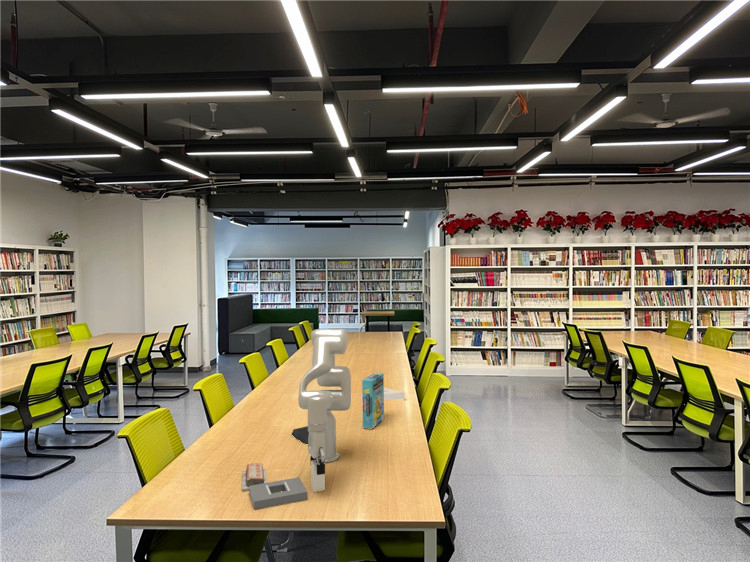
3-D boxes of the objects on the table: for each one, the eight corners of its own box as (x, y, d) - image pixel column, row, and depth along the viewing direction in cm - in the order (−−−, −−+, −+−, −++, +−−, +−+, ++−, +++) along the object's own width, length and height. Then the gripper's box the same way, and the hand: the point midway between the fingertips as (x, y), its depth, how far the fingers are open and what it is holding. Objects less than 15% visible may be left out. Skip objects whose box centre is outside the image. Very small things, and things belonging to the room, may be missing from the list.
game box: (373, 430, 261) (372, 380, 261) (362, 428, 263) (361, 380, 263) (384, 419, 281) (384, 373, 280) (374, 418, 283) (373, 372, 282)
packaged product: (242, 463, 206) (265, 460, 209) (242, 474, 206) (265, 471, 209) (241, 480, 189) (267, 477, 191) (241, 492, 189) (267, 489, 191)
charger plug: (311, 487, 192) (310, 455, 192) (321, 485, 194) (321, 454, 193) (314, 492, 188) (313, 459, 188) (324, 490, 190) (324, 457, 189)
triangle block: (404, 401, 320) (404, 392, 320) (378, 409, 301) (377, 399, 301) (372, 393, 341) (372, 385, 340) (345, 401, 322) (345, 391, 322)
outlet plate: (249, 493, 188) (248, 485, 187) (299, 484, 195) (299, 476, 195) (254, 509, 175) (253, 500, 174) (307, 499, 182) (307, 490, 182)
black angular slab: (312, 431, 261) (311, 423, 261) (329, 441, 246) (329, 433, 246) (290, 436, 254) (289, 428, 254) (306, 446, 238) (306, 438, 238)
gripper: (302, 422, 197) (303, 463, 197) (313, 434, 181) (314, 479, 181) (320, 419, 199) (320, 460, 199) (332, 431, 183) (333, 476, 183)
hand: (317, 469), depth 190 cm, fingers open, 9 cm apart
